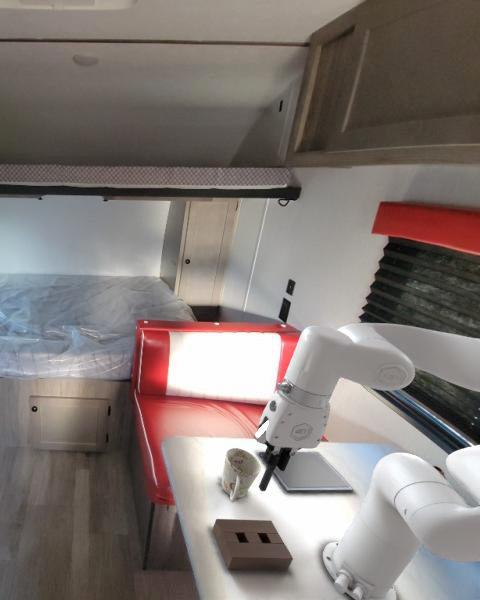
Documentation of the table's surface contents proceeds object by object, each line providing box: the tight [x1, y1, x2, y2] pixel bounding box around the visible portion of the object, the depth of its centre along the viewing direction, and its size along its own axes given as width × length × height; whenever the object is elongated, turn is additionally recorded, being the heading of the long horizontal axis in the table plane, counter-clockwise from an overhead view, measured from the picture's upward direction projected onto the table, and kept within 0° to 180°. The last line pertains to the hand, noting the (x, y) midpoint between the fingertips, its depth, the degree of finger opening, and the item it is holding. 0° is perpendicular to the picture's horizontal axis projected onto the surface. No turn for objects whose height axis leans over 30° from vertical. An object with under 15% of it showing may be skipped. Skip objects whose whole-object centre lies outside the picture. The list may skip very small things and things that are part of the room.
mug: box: [221, 447, 262, 503], centre depth 86 cm, size 8×13×10 cm, turn 152°
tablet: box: [258, 451, 354, 493], centre depth 97 cm, size 20×13×1 cm, turn 95°
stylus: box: [258, 447, 284, 492], centre depth 69 cm, size 1×1×13 cm
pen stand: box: [211, 518, 294, 571], centre depth 74 cm, size 8×13×4 cm, turn 92°
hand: (273, 464), depth 68 cm, fingers closed on stylus, 1 cm apart
